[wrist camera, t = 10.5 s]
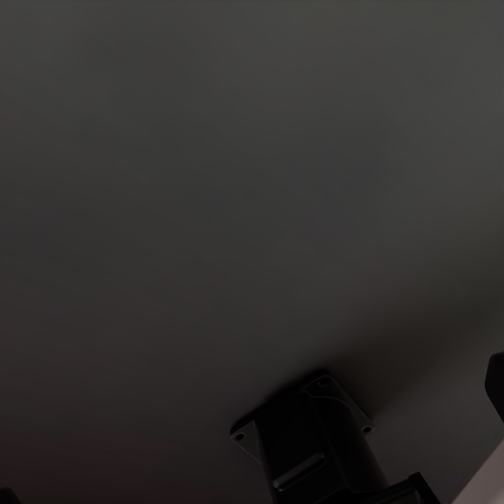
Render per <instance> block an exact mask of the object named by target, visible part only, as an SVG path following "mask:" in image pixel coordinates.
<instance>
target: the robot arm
mask: <svg viewBox="0 0 504 504" xmlns="http://www.w3.org/2000/svg"><path fill="white" fill-rule="evenodd" d="M323 379H324V380H323ZM321 380H322V381H321ZM485 389H486V392H487V395H488V397H489V399H490V400H491V402H492V404H493V405H494V407H495V409H496V411H497V412H498V414H499V416H500V417H501V419H502V421H503V423H504V351H503V352H499V353H496V354H493V355H492V356H491V357H490V359H489V364H488V369H487V374H486V379H485ZM374 428H375V427H374V425H373V423H372V421H371V419H370V418H369V417H368V416H367V415H366V414H365V413H364V411H363V410H362V409H361V408H360V407H359V406H358V405H357V403H356V402H355V401H354V400H353V399H352V398H351V396H350V395H349V394H348V393H347V392H346V391H345V390H344V388H343V387H342V386H341V385H340V384H339V383H338V382H337V380H336V379H335V378H334V377H333V376H332V375H331V374H330V372H328V371H326V370H322V371H319V372H317V373H315V374H314V375H312V376H311V377H309V378H308V379H306V380H305V381H303V382H302V383H300V384H299V385H297V386H295V387H294V388H292V389H291V390H289V391H288V392H286V393H285V394H283V395H282V396H280V397H279V398H277V399H275V400H274V401H272V402H271V403H269V404H268V405H266V406H265V407H263V408H262V409H260V410H259V411H257V412H256V413H254V414H252V415H251V416H249V417H248V418H246V419H245V420H243V421H242V422H240V423H239V424H237V425H236V426H234V427H233V428H232V429H231V430H230V436H231V440H232V441H233V442H234V443H235V444H236V445H238V446H239V447H240V448H241V449H243V450H244V451H245V452H246V453H248V454H249V455H250V456H252V457H253V458H254V459H255V460H257V461H258V462H259V463H260V464H262V465H263V468H264V472H265V475H266V479H267V482H268V486H269V489H270V493H271V497H272V500H273V504H441V503H440V502H439V501H438V499H437V498H436V496H435V495H434V493H433V492H432V490H431V489H430V487H429V486H428V484H427V483H426V481H425V480H424V478H423V477H422V475H421V474H420V472H417V473H414V474H412V475H410V476H408V477H409V478H408V479H406V480H404V481H401V482H399V483H397V484H395V485H392V486H389V484H388V482H387V480H386V478H385V476H384V474H383V472H382V470H381V468H380V466H379V464H378V463H377V461H376V459H375V457H374V455H373V453H372V451H371V449H370V447H369V445H368V443H367V441H366V439H365V436H367V435H369V434H370V433H372V432H373V430H374ZM0 504H21V502H20V501H19V499H18V498H17V496H16V495H15V493H14V492H13V490H12V489H11V488H8V487H4V488H0Z"/></svg>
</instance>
